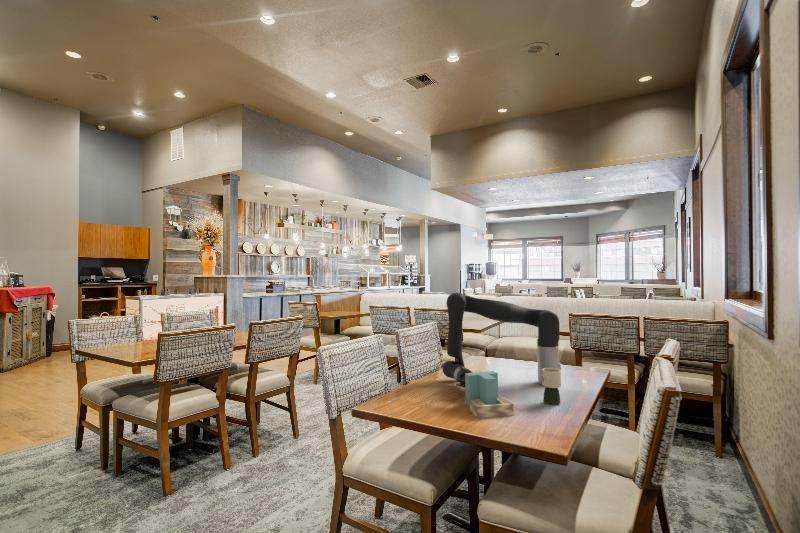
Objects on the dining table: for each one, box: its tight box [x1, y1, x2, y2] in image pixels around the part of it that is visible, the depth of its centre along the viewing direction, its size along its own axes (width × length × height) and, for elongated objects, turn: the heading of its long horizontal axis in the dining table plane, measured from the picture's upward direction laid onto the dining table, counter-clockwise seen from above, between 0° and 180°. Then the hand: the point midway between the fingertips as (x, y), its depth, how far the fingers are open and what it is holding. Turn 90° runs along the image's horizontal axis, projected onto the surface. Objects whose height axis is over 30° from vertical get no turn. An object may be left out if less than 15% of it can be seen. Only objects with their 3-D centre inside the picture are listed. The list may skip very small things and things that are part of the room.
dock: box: [469, 396, 515, 419], centre depth 156 cm, size 14×8×4 cm, turn 100°
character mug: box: [541, 368, 562, 405], centre depth 166 cm, size 11×7×13 cm, turn 145°
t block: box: [464, 370, 499, 408], centre depth 163 cm, size 12×11×12 cm
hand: (477, 387), depth 168 cm, fingers closed
